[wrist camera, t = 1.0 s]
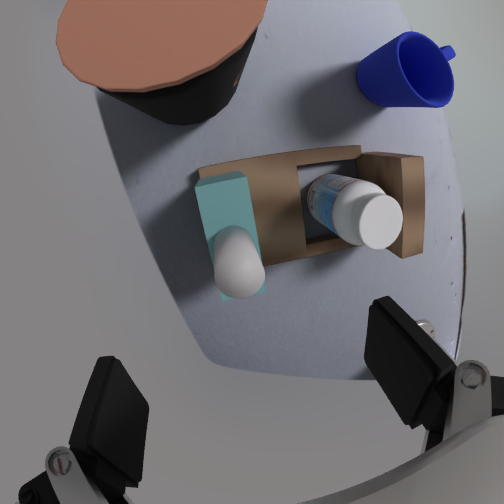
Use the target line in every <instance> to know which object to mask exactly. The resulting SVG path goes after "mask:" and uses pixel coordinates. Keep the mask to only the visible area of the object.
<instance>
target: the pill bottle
mask: <svg viewBox="0 0 504 504" xmlns="http://www.w3.org/2000/svg"><path fill="white" fill-rule="evenodd" d="M307 205H308V209H309V211H310V213H311V215H312V216H313V217H314V218H315V219H316V220H317V221H318V222H320V223H321V224H323V225H324V226H325V227H327V228H328V229H330V230H331V231H332V232H334V233H335V234H337V235H338V236H339V237H341V238H342V239H343V240H345V241H347V242H348V243H350V244H353V245H359V246H362V245H365V246H367V247H369V248H371V249H375V250H380V249H384V248H386V247H388V246H390V245H391V244H392V243H393V242H394V241H395V240H396V238H397V237H398V235H399V233H400V231H401V228H402V223H403V215H402V210H401V207H400V205H399V204H398V202H397V201H396V200H395V199H394V198H392V197H390V196H388V195H386V194H385V193H384V191H383V190H382V189H381V188H380V187H379V186H377V185H375V184H373V183H371V182H368V181H364V180H360V179H355V178H351V177H346V176H342V175H337V174H326V175H323V176H321V177H319V178H318V179H316V180H315V181H314V182H313V184H312V185H311V187H310V188H309V191H308V195H307Z"/></svg>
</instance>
